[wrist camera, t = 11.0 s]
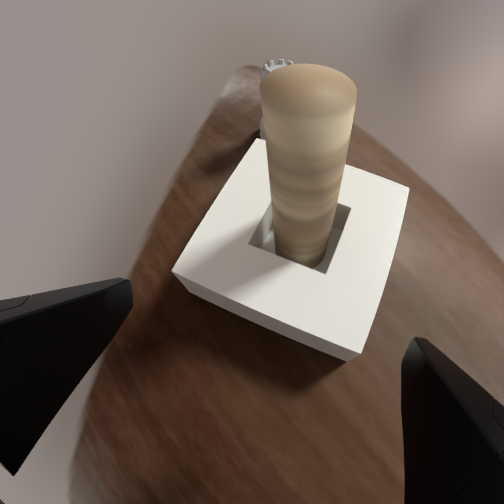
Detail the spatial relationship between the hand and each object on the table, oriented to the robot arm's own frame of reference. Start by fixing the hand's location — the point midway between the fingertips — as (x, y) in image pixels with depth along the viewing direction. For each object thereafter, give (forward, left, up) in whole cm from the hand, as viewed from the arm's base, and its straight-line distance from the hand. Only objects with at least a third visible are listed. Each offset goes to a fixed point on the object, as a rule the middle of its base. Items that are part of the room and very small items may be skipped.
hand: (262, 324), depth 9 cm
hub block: (+8, +2, -12) cm, 14 cm away
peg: (+8, +2, -11) cm, 13 cm away
